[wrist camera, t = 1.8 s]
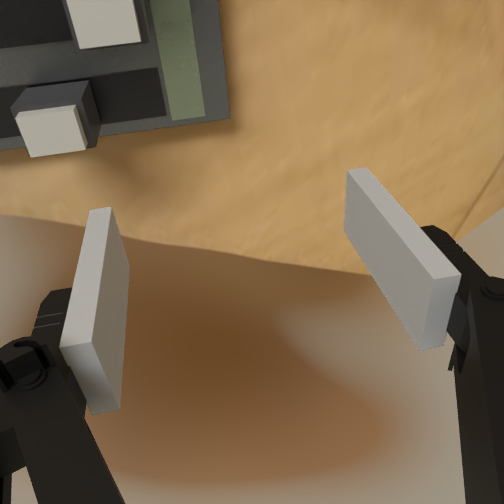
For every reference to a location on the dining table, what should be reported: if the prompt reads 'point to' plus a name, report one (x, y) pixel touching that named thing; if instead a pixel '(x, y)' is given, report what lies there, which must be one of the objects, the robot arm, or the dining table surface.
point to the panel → (118, 66)
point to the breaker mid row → (107, 23)
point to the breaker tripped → (57, 118)
